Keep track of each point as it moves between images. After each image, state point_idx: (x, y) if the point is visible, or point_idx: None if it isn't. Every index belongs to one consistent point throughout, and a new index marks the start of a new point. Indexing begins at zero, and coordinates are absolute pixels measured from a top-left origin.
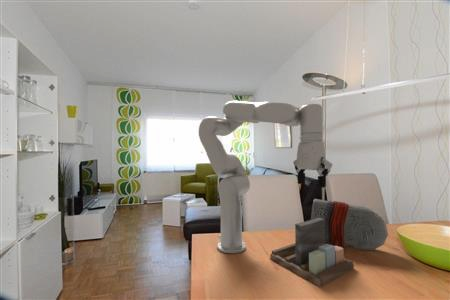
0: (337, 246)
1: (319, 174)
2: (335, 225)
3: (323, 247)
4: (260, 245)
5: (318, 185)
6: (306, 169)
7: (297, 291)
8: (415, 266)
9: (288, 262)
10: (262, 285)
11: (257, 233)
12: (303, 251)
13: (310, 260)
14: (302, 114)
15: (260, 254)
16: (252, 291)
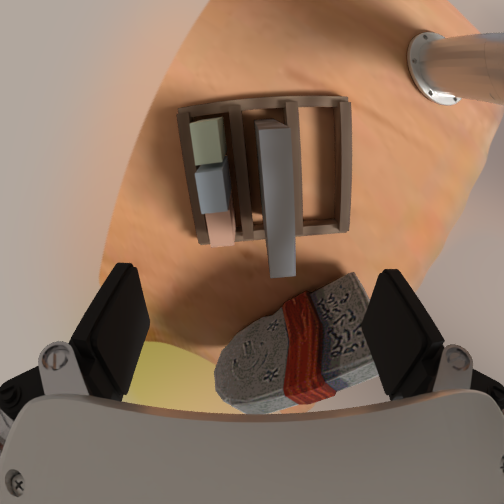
0: (227, 243)
1: (69, 360)
2: (304, 330)
3: (209, 176)
4: (413, 136)
5: (119, 271)
6: (264, 415)
7: (191, 53)
8: (168, 333)
9: (282, 100)
10: (247, 4)
11: (460, 189)
12: (256, 134)
13: (213, 119)
14: None
15: (375, 94)
16: None
